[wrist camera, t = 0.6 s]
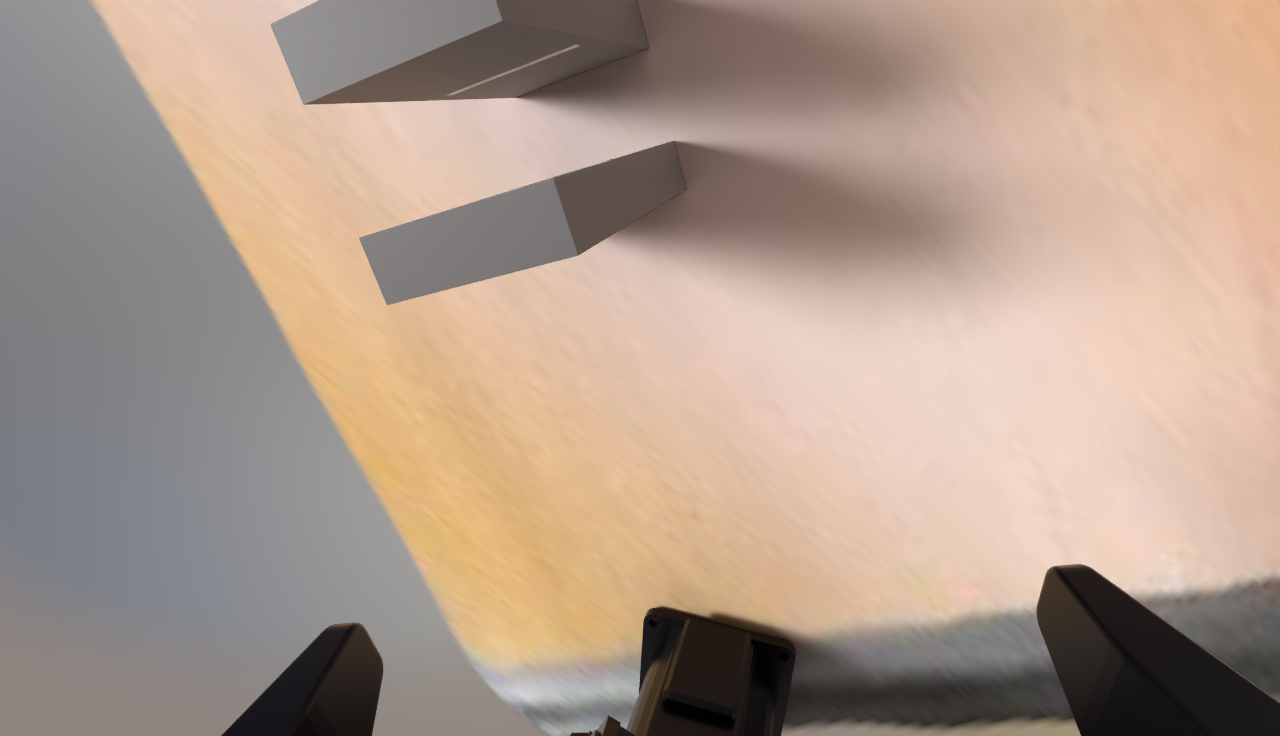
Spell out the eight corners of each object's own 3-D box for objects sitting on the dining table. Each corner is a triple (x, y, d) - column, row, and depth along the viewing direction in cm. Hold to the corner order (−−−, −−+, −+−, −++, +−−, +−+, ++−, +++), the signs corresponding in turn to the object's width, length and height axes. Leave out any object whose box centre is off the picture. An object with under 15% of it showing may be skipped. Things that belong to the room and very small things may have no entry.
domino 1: (649, 48, 21) (503, 21, 13) (515, 98, 23) (303, 105, 14) (634, -8, 21) (471, -76, 12) (498, 47, 23) (270, 22, 14)
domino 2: (686, 189, 23) (578, 256, 14) (556, 226, 24) (387, 305, 16) (673, 140, 22) (552, 176, 13) (541, 181, 24) (358, 236, 15)
